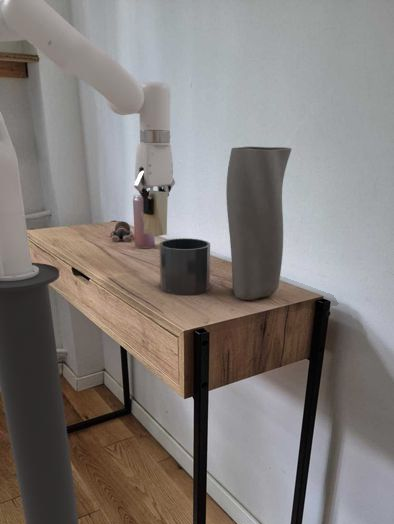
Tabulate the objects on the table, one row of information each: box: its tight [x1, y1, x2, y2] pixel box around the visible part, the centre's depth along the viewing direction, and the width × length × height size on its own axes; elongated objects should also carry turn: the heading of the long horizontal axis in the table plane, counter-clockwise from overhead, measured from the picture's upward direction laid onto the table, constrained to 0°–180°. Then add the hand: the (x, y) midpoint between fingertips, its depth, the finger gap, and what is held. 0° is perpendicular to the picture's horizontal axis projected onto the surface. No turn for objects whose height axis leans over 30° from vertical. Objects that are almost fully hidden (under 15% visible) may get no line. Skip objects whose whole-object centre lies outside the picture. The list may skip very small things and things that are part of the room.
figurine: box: [108, 221, 135, 243], centre depth 156 cm, size 8×5×10 cm
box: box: [144, 190, 169, 237], centre depth 129 cm, size 5×4×11 cm
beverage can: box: [132, 193, 156, 249], centre depth 144 cm, size 6×6×15 cm
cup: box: [158, 237, 211, 296], centre depth 109 cm, size 11×11×10 cm
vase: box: [225, 146, 292, 301], centre depth 100 cm, size 12×12×30 cm
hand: (155, 212), depth 129 cm, fingers closed on box, 4 cm apart
